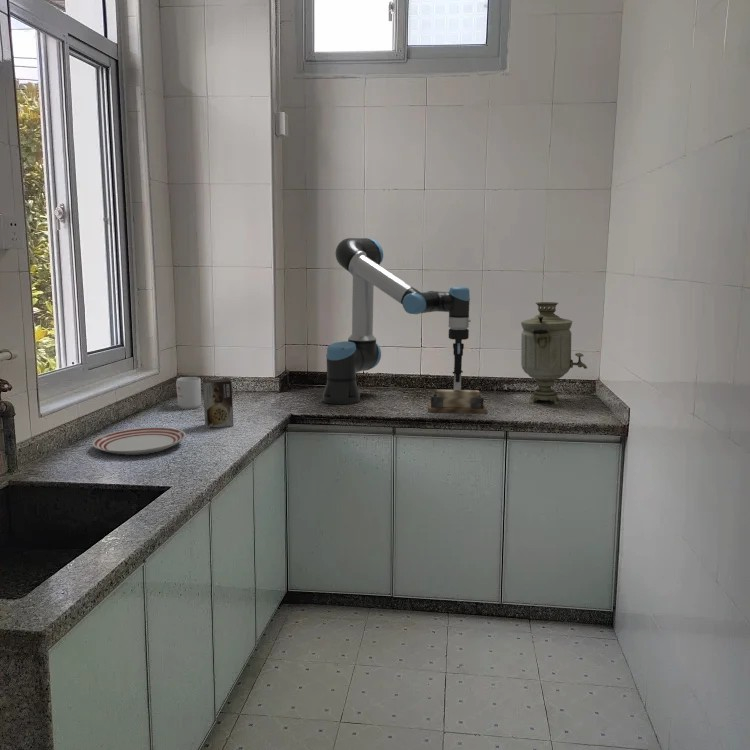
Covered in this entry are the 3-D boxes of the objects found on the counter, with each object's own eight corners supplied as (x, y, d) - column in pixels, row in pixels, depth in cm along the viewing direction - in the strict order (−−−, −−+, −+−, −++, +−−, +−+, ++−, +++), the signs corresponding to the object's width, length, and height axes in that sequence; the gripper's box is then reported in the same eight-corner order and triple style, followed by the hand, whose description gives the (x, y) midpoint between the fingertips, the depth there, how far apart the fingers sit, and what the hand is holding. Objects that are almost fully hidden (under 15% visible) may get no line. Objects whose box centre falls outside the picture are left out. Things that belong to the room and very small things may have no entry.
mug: (206, 407, 277) (205, 378, 275) (186, 410, 271) (185, 381, 269) (187, 402, 285) (186, 375, 283) (168, 406, 278) (167, 378, 276)
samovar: (566, 413, 269) (572, 307, 263) (503, 404, 285) (507, 303, 278) (595, 400, 293) (601, 302, 286) (535, 392, 308) (539, 299, 302)
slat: (436, 406, 273) (436, 391, 272) (436, 404, 276) (436, 389, 275) (478, 407, 272) (479, 392, 271) (478, 405, 275) (478, 390, 274)
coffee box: (230, 422, 253) (229, 377, 250) (233, 426, 247) (232, 380, 245) (204, 424, 250) (202, 378, 247) (206, 428, 244) (205, 382, 241)
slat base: (427, 412, 270) (428, 397, 269) (428, 406, 280) (428, 392, 279) (486, 413, 269) (487, 399, 268) (484, 407, 278) (485, 393, 277)
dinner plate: (88, 463, 205) (88, 452, 204) (96, 439, 231) (96, 429, 230) (187, 456, 212) (187, 445, 212) (184, 433, 238) (184, 423, 238)
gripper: (469, 330, 262) (467, 393, 266) (468, 326, 275) (466, 387, 279) (449, 330, 263) (447, 393, 267) (448, 326, 276) (447, 386, 280)
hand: (457, 390), depth 273 cm, fingers closed
